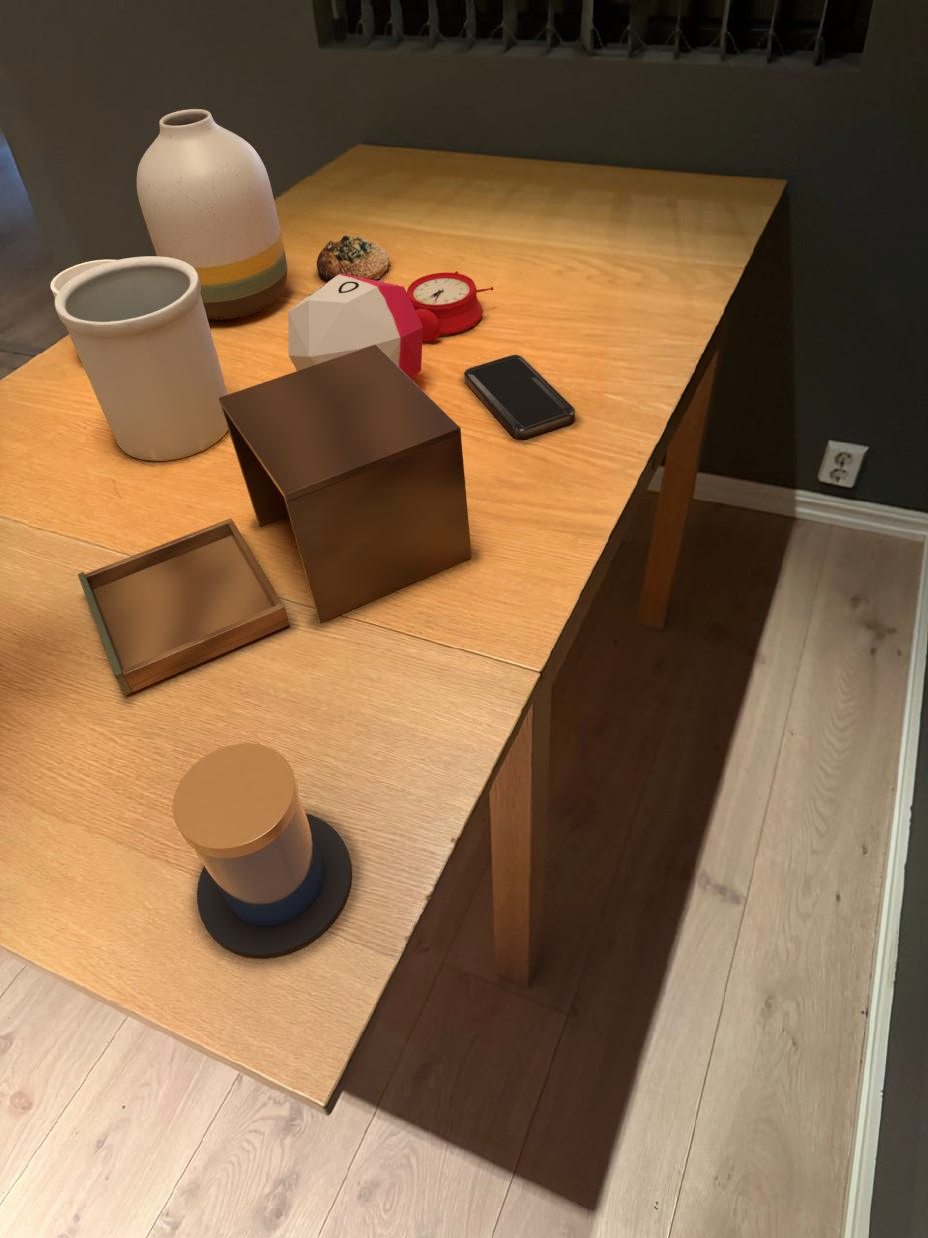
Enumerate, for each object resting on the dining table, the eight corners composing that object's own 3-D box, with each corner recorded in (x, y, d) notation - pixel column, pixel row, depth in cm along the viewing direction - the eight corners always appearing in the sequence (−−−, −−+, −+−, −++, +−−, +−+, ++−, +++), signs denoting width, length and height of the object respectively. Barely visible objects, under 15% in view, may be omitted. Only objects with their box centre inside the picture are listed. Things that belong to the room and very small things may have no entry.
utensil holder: (265, 413, 106) (226, 271, 93) (173, 480, 98) (117, 335, 85) (180, 382, 112) (133, 244, 99) (87, 442, 104) (23, 302, 91)
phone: (516, 433, 97) (461, 370, 107) (517, 441, 98) (461, 378, 108) (579, 412, 99) (519, 352, 109) (579, 420, 100) (519, 360, 109)
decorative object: (432, 253, 99) (340, 277, 89) (457, 386, 106) (373, 422, 95) (340, 269, 109) (247, 292, 98) (368, 391, 115) (283, 424, 105)
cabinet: (320, 623, 81) (284, 494, 70) (257, 523, 91) (218, 397, 81) (472, 558, 85) (460, 427, 75) (395, 469, 96) (375, 343, 85)
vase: (272, 333, 119) (224, 141, 101) (156, 330, 122) (90, 143, 104) (309, 275, 130) (271, 93, 113) (202, 273, 133) (150, 96, 116)
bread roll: (302, 269, 131) (300, 234, 128) (363, 254, 137) (363, 220, 133) (344, 296, 125) (343, 260, 122) (407, 279, 131) (407, 245, 127)
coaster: (167, 902, 63) (164, 898, 62) (274, 791, 69) (272, 787, 68) (277, 990, 58) (275, 987, 58) (382, 862, 64) (381, 858, 63)
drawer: (125, 695, 76) (114, 675, 74) (88, 594, 85) (77, 573, 83) (290, 625, 81) (283, 604, 79) (237, 535, 90) (230, 515, 88)
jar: (199, 892, 63) (146, 808, 55) (273, 813, 67) (235, 725, 59) (275, 951, 59) (232, 871, 51) (349, 864, 63) (319, 778, 55)
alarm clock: (503, 285, 116) (416, 302, 107) (498, 332, 120) (413, 352, 111) (450, 262, 121) (364, 277, 113) (447, 308, 125) (362, 326, 117)
